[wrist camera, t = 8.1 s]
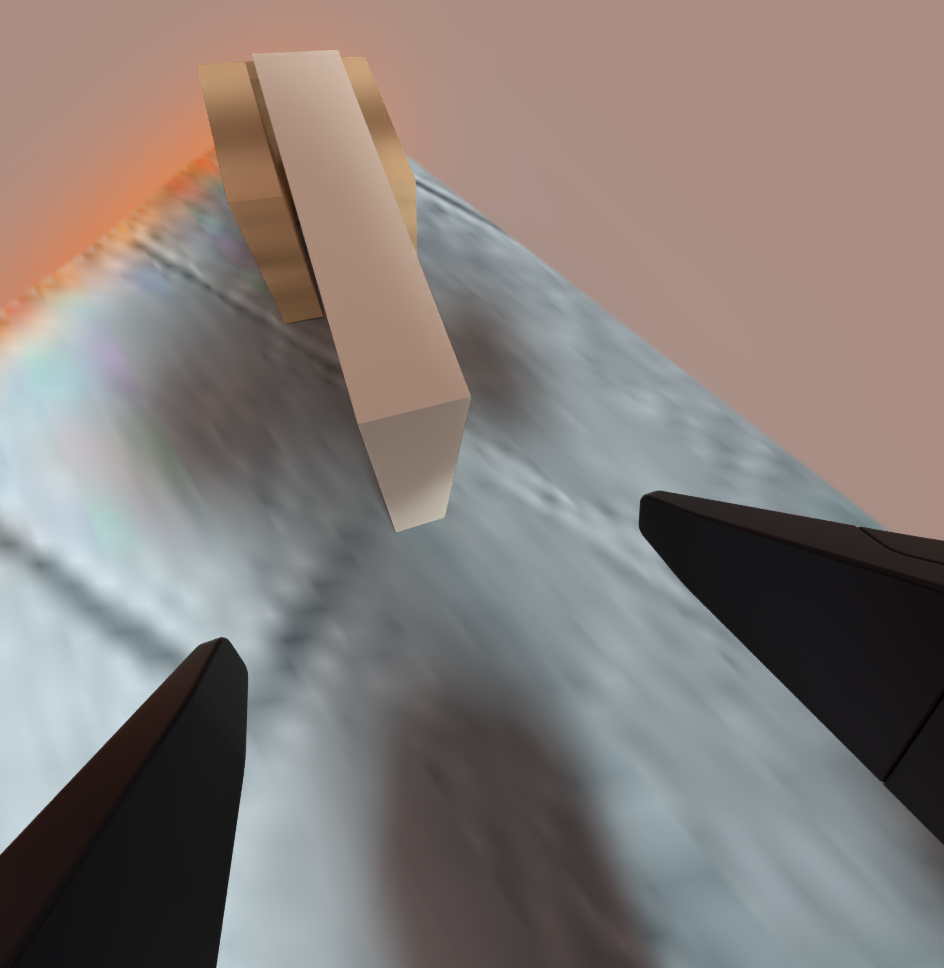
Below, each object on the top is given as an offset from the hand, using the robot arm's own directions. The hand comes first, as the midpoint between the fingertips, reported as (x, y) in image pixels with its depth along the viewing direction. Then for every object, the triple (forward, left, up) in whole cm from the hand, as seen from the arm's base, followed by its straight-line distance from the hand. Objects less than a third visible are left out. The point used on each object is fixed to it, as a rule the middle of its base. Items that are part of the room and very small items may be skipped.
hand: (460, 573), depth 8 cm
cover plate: (+9, -2, -10) cm, 14 cm away
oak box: (+20, -4, -10) cm, 23 cm away
